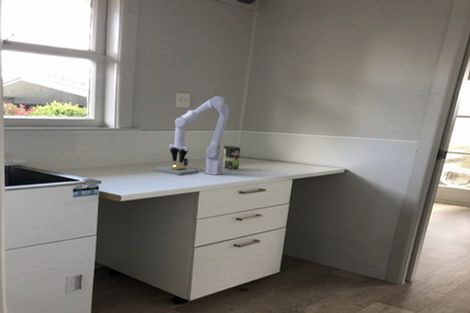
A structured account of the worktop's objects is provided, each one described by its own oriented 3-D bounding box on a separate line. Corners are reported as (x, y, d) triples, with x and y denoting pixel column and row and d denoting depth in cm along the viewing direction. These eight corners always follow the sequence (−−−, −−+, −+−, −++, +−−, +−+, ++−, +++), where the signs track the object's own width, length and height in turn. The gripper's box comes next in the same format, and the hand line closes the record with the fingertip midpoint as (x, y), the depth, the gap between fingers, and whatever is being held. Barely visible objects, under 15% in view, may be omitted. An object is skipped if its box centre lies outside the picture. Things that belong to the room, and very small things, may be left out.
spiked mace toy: (178, 169, 256) (179, 160, 256) (169, 168, 259) (169, 159, 259) (191, 168, 267) (191, 159, 266) (182, 166, 270) (182, 157, 269)
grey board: (198, 172, 264) (199, 169, 264) (179, 175, 249) (179, 172, 249) (173, 167, 274) (173, 165, 274) (153, 170, 259) (153, 167, 259)
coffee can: (242, 170, 286) (243, 147, 284) (229, 171, 279) (231, 148, 278) (231, 167, 294) (233, 145, 292) (218, 168, 287) (220, 145, 285)
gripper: (193, 140, 265) (191, 163, 266) (176, 137, 274) (174, 159, 275) (184, 139, 259) (182, 163, 261) (167, 137, 269) (165, 159, 270)
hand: (177, 161), depth 268 cm, fingers open, 5 cm apart
